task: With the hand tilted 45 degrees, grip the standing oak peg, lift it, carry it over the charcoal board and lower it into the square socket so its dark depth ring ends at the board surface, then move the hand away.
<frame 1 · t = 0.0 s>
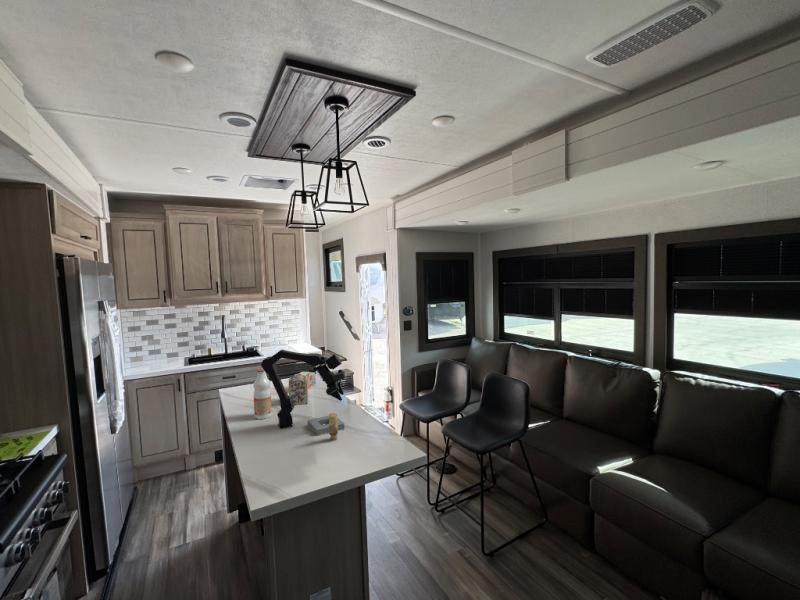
hand: (342, 397, 203), 15 cm above the worktop, tool tilted 35°, fingers open, 9 cm apart
charcoal socket board: (325, 427, 200), on the worktop
stack of blocks: (305, 389, 268), on the worktop
decorative jar: (299, 402, 241), on the worktop
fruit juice: (263, 416, 217), on the worktop
oak peg: (333, 439, 186), on the worktop
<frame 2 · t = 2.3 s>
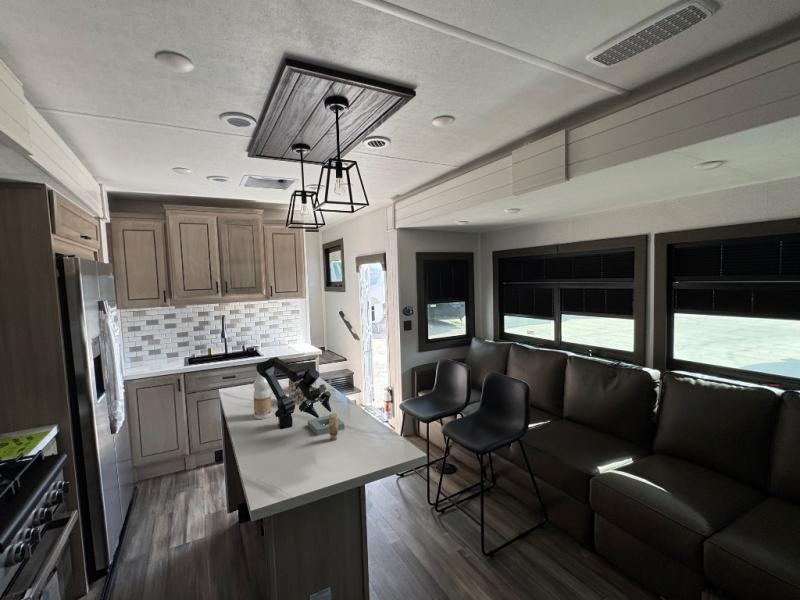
hand: (324, 414, 187), 12 cm above the worktop, tool tilted 45°, fingers open, 9 cm apart
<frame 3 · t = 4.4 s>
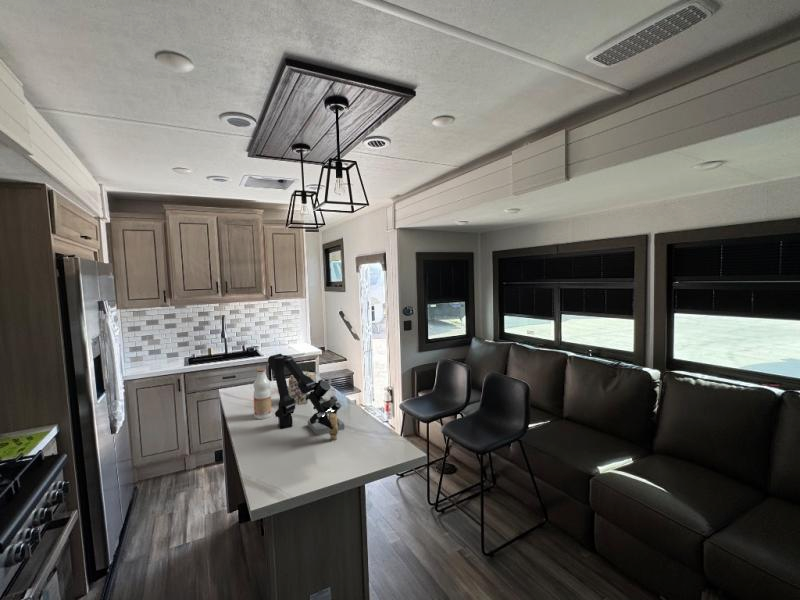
hand: (335, 427, 185), 7 cm above the worktop, tool tilted 45°, fingers closed on oak peg, 4 cm apart
oak peg: (333, 439, 186), on the worktop, touching gripper
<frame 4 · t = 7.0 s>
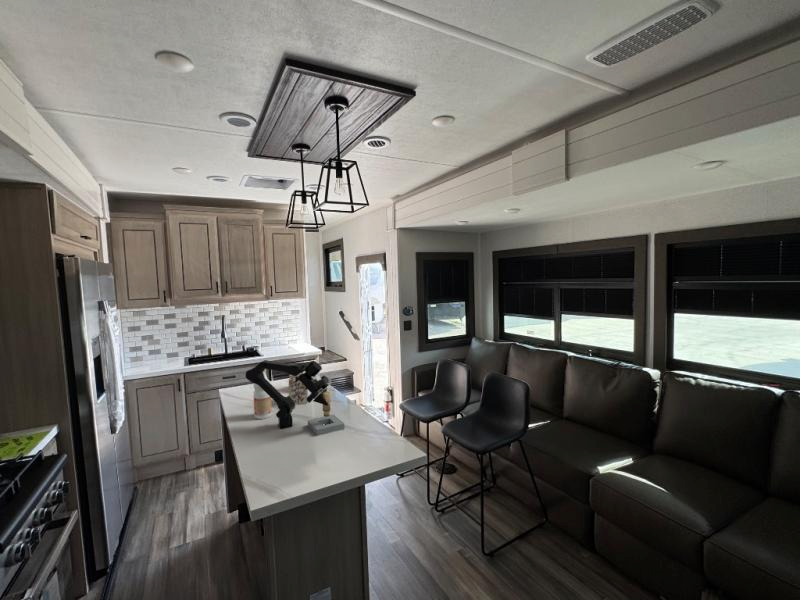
hand: (329, 403, 198), 14 cm above the worktop, tool tilted 45°, fingers closed on oak peg, 4 cm apart
oak peg: (326, 415, 198), point 7 cm above the worktop, touching gripper
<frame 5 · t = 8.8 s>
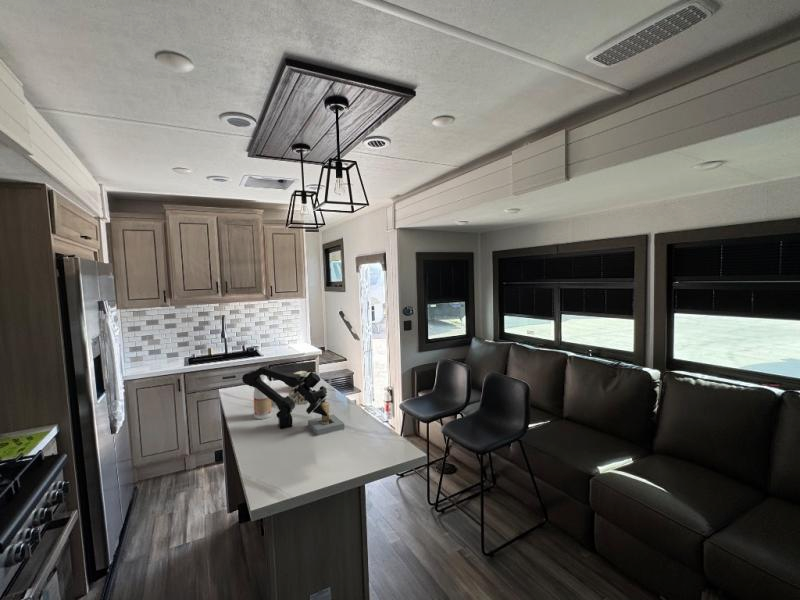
hand: (327, 414, 200), 7 cm above the worktop, tool tilted 45°, fingers closed on oak peg, 4 cm apart
oak peg: (325, 425, 200), point 1 cm above the worktop, touching gripper
when the fingers open (7 cm above the worktop, at t = 9.9 s): oak peg stays where it is, resting in charcoal socket board.
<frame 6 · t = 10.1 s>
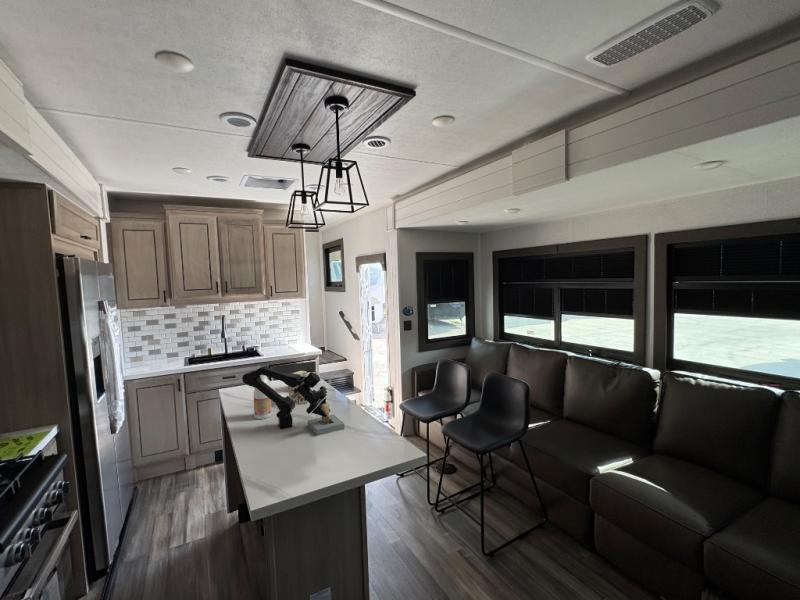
hand: (328, 414, 200), 7 cm above the worktop, tool tilted 45°, fingers open, 6 cm apart
oak peg: (325, 427, 200), resting in charcoal socket board
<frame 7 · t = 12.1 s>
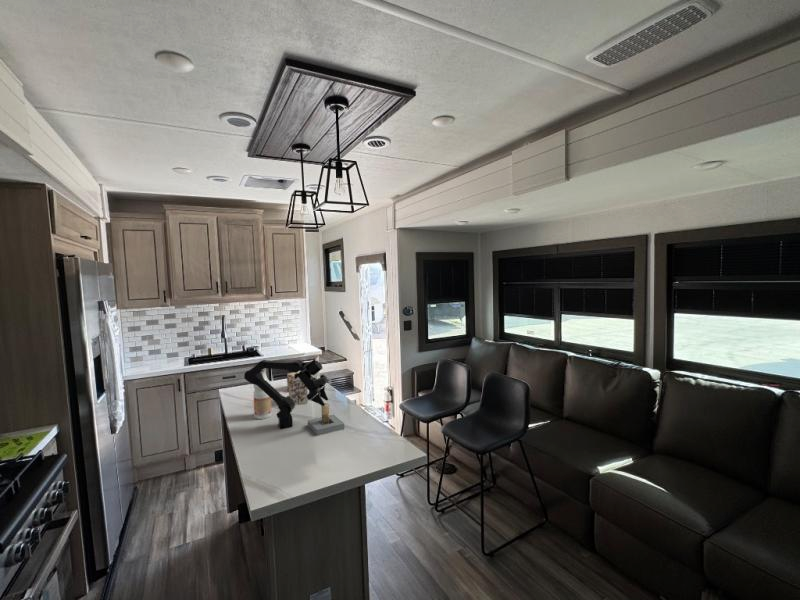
hand: (325, 402, 200), 13 cm above the worktop, tool tilted 40°, fingers open, 9 cm apart
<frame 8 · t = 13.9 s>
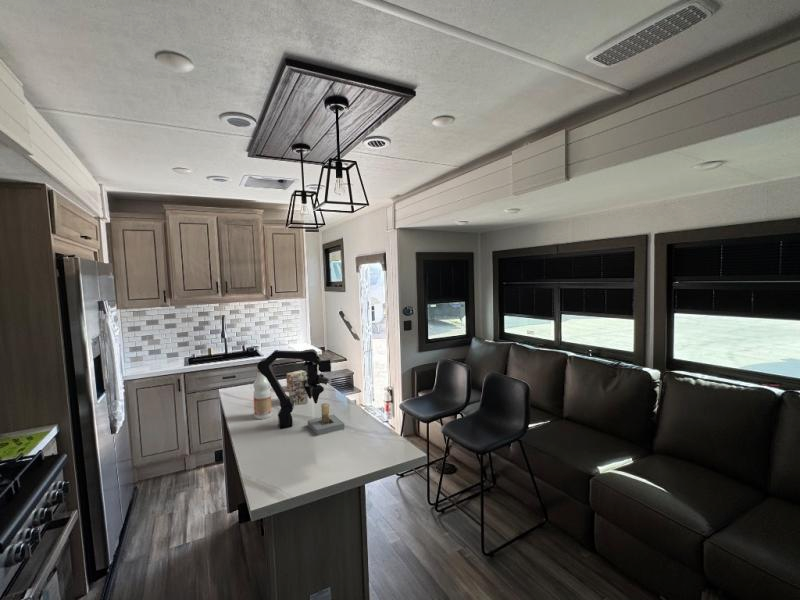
hand: (313, 400, 204), 13 cm above the worktop, tool pointing down, fingers open, 9 cm apart
at the end: oak peg 0.0 cm off-centre on the charcoal socket board, point 0.0 cm above the charcoal socket board's base; oak peg tilted 0°; the gripper is holding nothing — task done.
